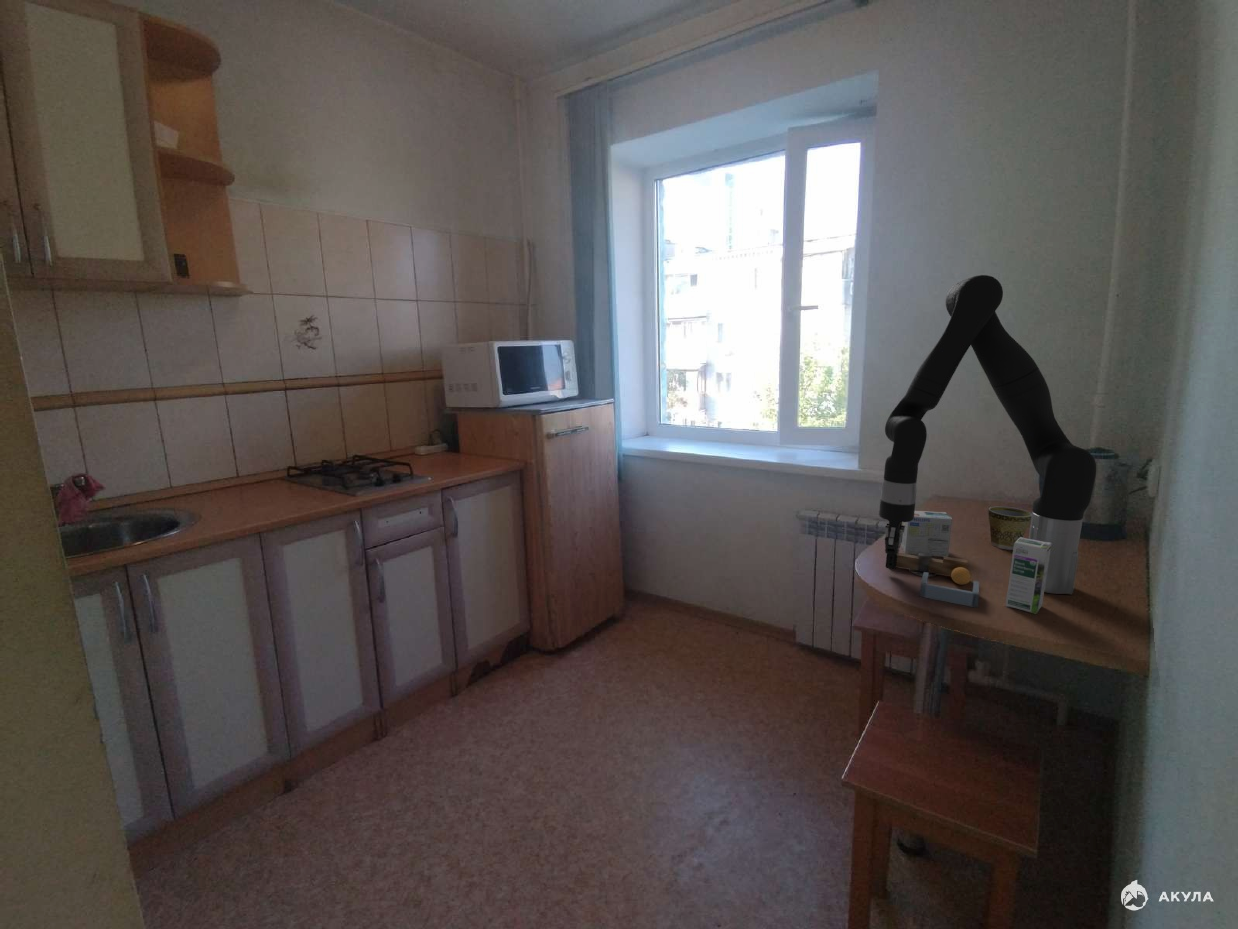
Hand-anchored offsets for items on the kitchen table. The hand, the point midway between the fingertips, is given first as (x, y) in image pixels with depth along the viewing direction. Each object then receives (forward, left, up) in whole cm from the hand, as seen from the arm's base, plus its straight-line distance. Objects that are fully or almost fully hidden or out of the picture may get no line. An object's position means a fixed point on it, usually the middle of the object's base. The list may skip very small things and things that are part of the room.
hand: (890, 567), depth 141 cm
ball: (-15, -3, -2) cm, 15 cm away
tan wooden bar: (-7, -6, -2) cm, 9 cm away
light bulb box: (-6, -22, -2) cm, 23 cm away
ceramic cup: (-25, -40, -2) cm, 47 cm away
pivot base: (-7, -6, -2) cm, 9 cm away
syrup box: (-27, +4, -2) cm, 27 cm away
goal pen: (-13, +6, -2) cm, 14 cm away
